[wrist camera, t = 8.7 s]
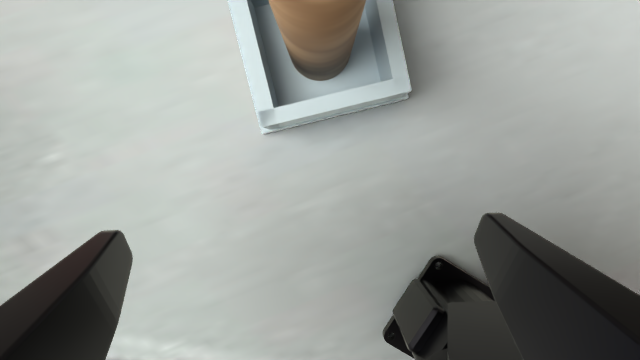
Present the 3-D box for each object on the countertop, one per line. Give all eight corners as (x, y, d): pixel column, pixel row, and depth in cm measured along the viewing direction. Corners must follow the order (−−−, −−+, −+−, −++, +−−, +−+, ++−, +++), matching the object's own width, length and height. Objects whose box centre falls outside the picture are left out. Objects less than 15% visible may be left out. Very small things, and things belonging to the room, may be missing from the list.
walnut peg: (349, 15, 20) (396, -232, 7) (352, 78, 20) (402, -42, 7) (287, 19, 20) (218, -218, 7) (291, 82, 20) (233, -31, 7)
